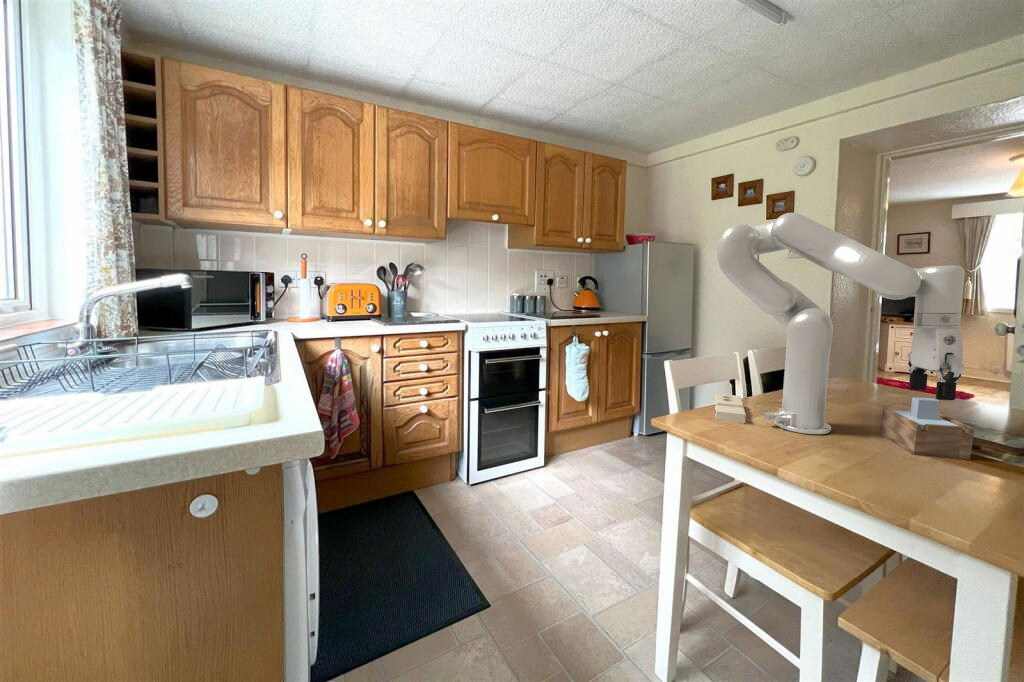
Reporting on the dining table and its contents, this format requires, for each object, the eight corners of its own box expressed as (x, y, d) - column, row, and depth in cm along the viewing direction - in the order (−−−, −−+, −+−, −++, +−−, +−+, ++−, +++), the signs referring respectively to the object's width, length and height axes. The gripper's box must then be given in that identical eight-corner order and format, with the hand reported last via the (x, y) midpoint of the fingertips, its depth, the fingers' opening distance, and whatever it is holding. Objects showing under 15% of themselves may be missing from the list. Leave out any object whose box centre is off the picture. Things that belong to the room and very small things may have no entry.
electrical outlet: (716, 408, 119) (715, 393, 136) (716, 422, 120) (714, 405, 136) (745, 411, 117) (740, 395, 133) (744, 425, 117) (740, 408, 133)
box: (970, 459, 92) (974, 428, 91) (913, 454, 95) (917, 424, 94) (928, 437, 106) (931, 410, 105) (879, 433, 108) (882, 407, 108)
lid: (961, 432, 93) (964, 407, 93) (920, 429, 95) (923, 404, 95) (925, 416, 105) (928, 393, 104) (890, 414, 107) (892, 391, 106)
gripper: (987, 323, 88) (979, 405, 89) (932, 318, 104) (926, 387, 106) (941, 323, 90) (935, 403, 92) (894, 318, 106) (890, 386, 108)
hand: (930, 394), depth 99 cm, fingers open, 9 cm apart
